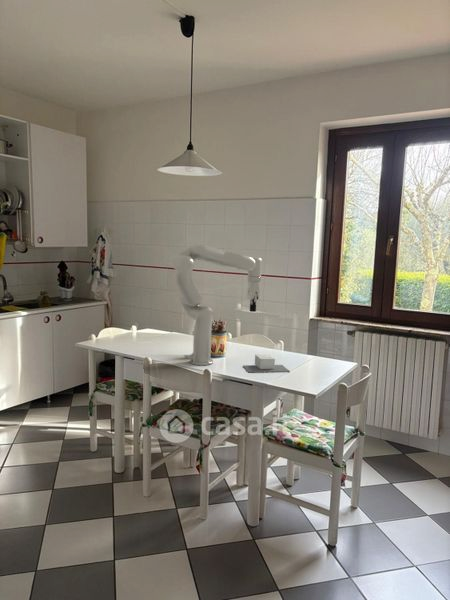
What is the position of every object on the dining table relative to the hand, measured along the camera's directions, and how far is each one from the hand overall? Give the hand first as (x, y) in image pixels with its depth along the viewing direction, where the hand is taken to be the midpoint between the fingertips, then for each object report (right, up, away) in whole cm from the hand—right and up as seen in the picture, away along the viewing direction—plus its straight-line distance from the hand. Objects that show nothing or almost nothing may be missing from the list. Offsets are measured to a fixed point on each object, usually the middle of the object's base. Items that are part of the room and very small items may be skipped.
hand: (252, 311), depth 255 cm
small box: (+4, -26, -12) cm, 28 cm away
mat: (+6, -30, -20) cm, 36 cm away
